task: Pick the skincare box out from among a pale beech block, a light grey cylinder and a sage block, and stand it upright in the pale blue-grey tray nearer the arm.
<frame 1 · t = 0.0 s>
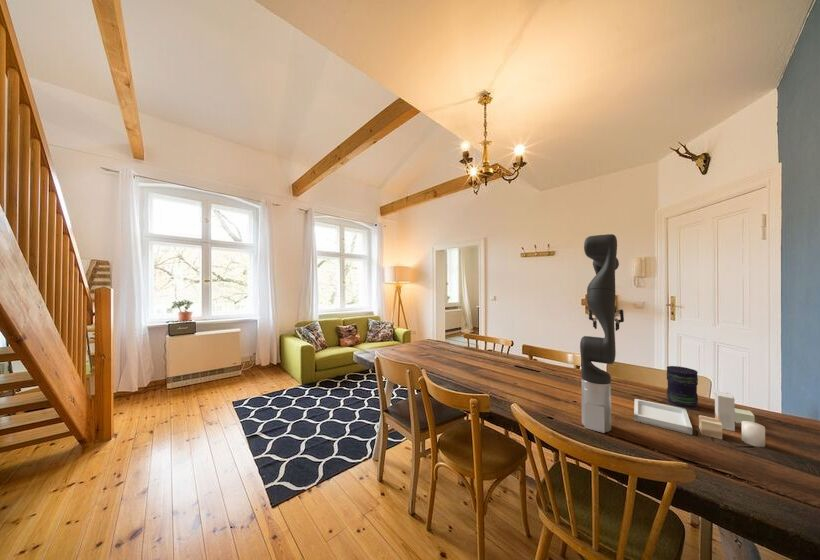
hand: (606, 329, 141), 29 cm above the table, tool pointing down, fingers open, 8 cm apart
skincare box: (724, 427, 104), on the table
beech block: (710, 434, 100), on the table
sage block: (742, 422, 107), on the table
storage jar: (681, 404, 123), on the table
tray: (660, 418, 111), on the table
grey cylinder: (753, 442, 94), on the table
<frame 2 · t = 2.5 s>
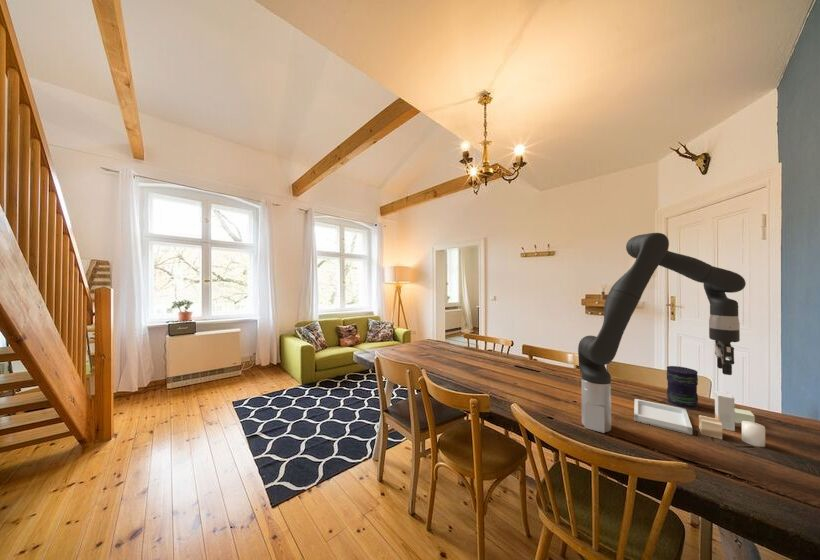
hand: (724, 371, 104), 20 cm above the table, tool pointing down, fingers open, 8 cm apart
nothing on the table moved.
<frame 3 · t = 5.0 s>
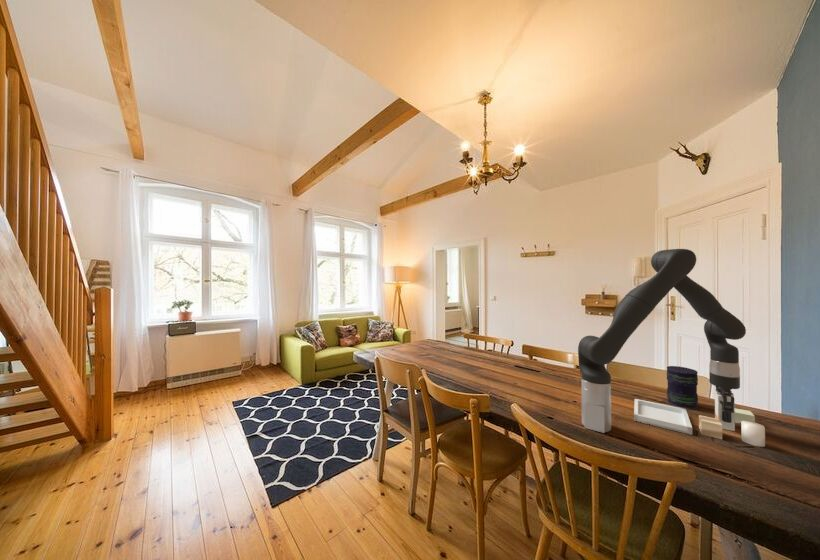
hand: (724, 418, 104), 3 cm above the table, tool pointing down, fingers closed on skincare box, 6 cm apart
skincare box: (724, 426, 104), on the table, touching gripper
everything else where it was.
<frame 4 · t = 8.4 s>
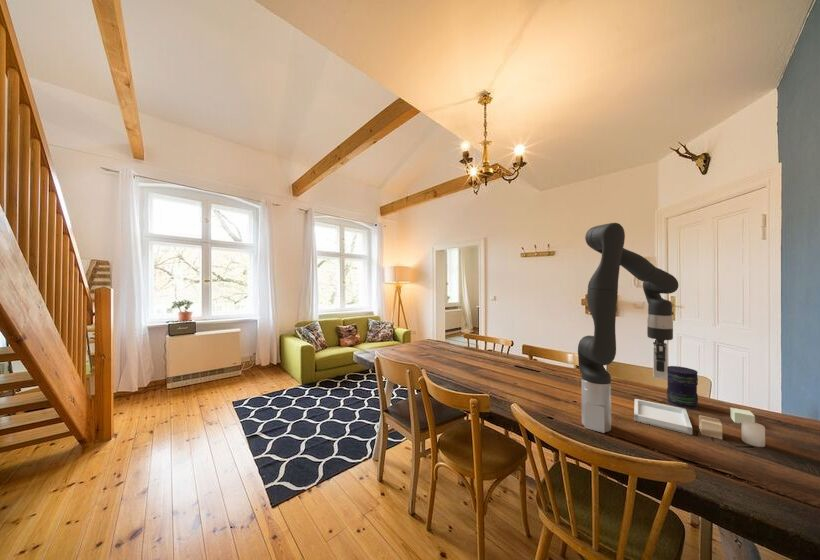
hand: (659, 368, 111), 19 cm above the table, tool pointing down, fingers closed on skincare box, 6 cm apart
skincare box: (659, 377, 111), point 16 cm above the table, touching gripper
everything else where it was.
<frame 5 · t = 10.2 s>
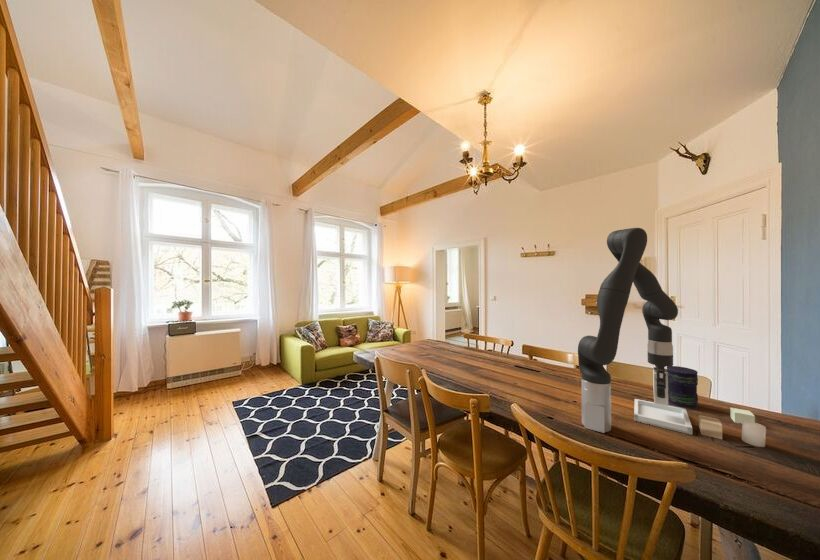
hand: (660, 394, 111), 9 cm above the table, tool pointing down, fingers closed on skincare box, 6 cm apart
skincare box: (660, 402, 111), point 6 cm above the table, touching gripper
everything else where it was.
when the fingers open (6 cm above the table, at t = 11.9 s): skincare box drops 2 cm, resting on tray.
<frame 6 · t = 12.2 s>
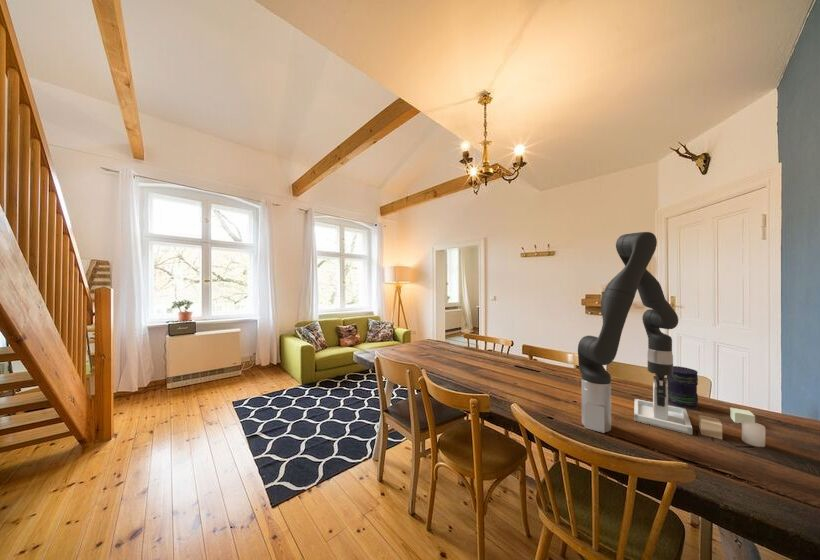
hand: (660, 402, 111), 6 cm above the table, tool pointing down, fingers open, 8 cm apart
skincare box: (660, 416, 111), point 1 cm above the table, touching tray
everything else where it was.
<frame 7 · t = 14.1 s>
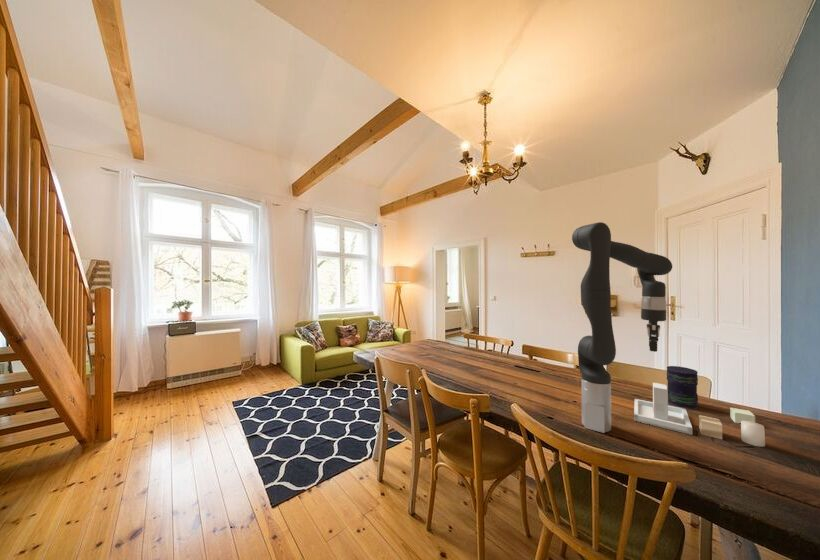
hand: (652, 349, 111), 27 cm above the table, tool pointing down, fingers open, 8 cm apart
nothing on the table moved.
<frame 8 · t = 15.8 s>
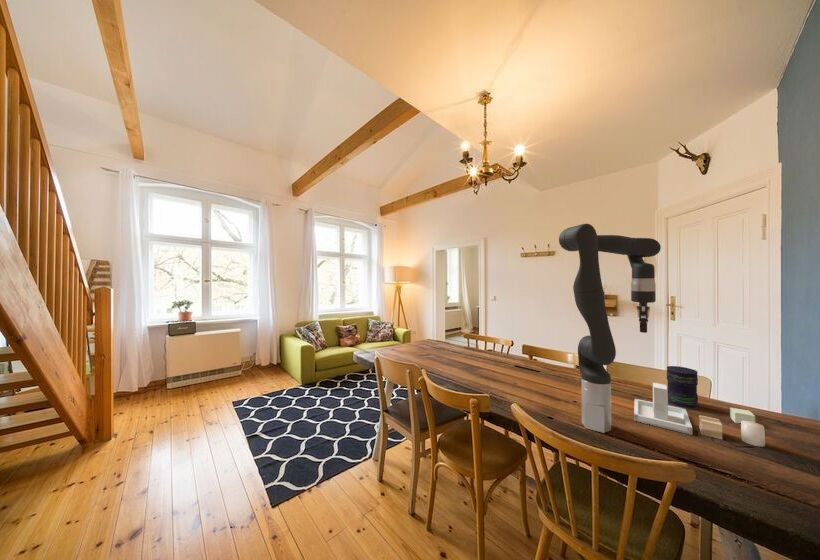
hand: (643, 330, 112), 34 cm above the table, tool pointing down, fingers open, 8 cm apart
nothing on the table moved.
at the end: skincare box inside the target area on the tray (0.3 cm from its centre), point 0.6 cm above the tray's base; skincare box tilted 0°; the gripper is holding nothing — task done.
